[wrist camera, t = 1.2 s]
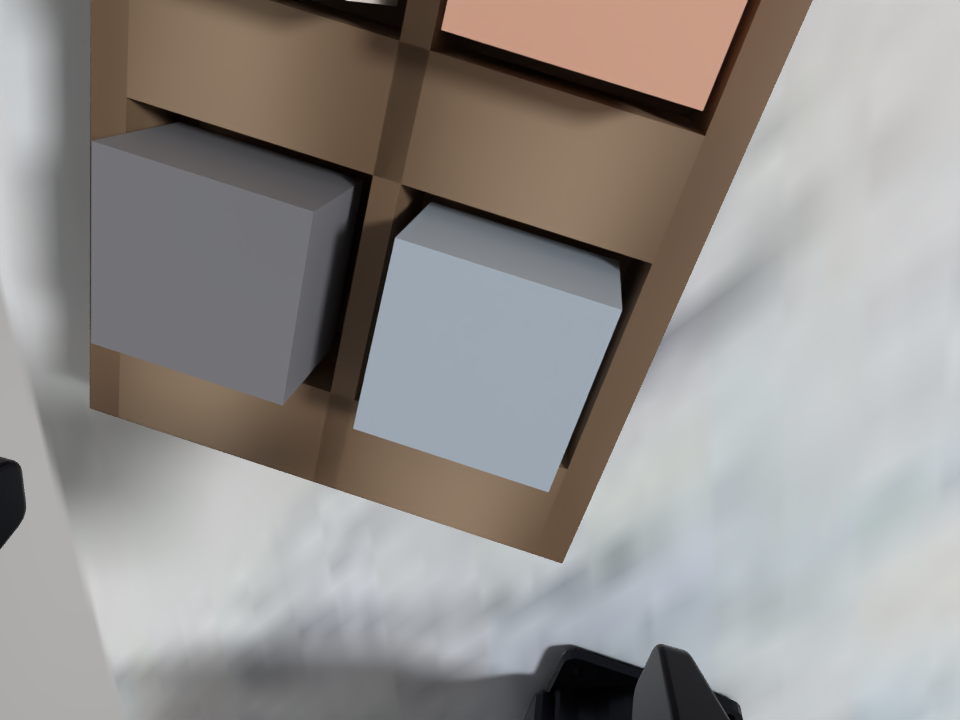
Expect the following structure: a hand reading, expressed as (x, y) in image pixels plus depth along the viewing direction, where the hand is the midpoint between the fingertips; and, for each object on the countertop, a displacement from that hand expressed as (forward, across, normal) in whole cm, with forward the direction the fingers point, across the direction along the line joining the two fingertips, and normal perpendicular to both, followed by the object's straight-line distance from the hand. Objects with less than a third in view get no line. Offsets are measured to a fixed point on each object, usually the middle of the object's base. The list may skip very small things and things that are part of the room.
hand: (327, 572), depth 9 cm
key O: (+8, +5, -1) cm, 10 cm away
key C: (+8, -1, -1) cm, 8 cm away
